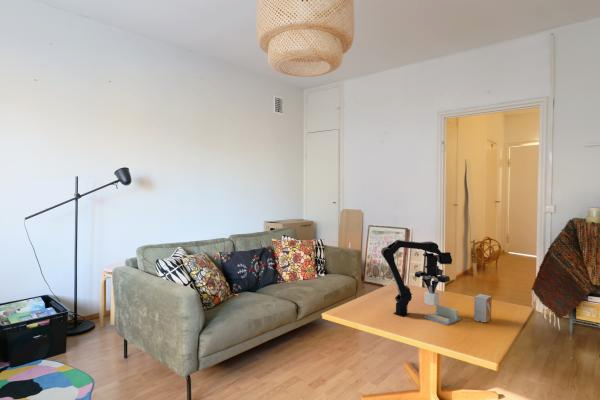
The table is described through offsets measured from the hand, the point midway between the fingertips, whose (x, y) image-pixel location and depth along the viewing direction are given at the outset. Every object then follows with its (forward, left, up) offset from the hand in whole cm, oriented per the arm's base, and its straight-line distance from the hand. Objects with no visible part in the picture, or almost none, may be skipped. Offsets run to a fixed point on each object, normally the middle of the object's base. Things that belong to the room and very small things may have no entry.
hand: (431, 291), depth 200 cm
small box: (+15, -21, -13) cm, 29 cm away
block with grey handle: (0, 0, -7) cm, 7 cm away
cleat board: (-1, -7, -13) cm, 15 cm away
